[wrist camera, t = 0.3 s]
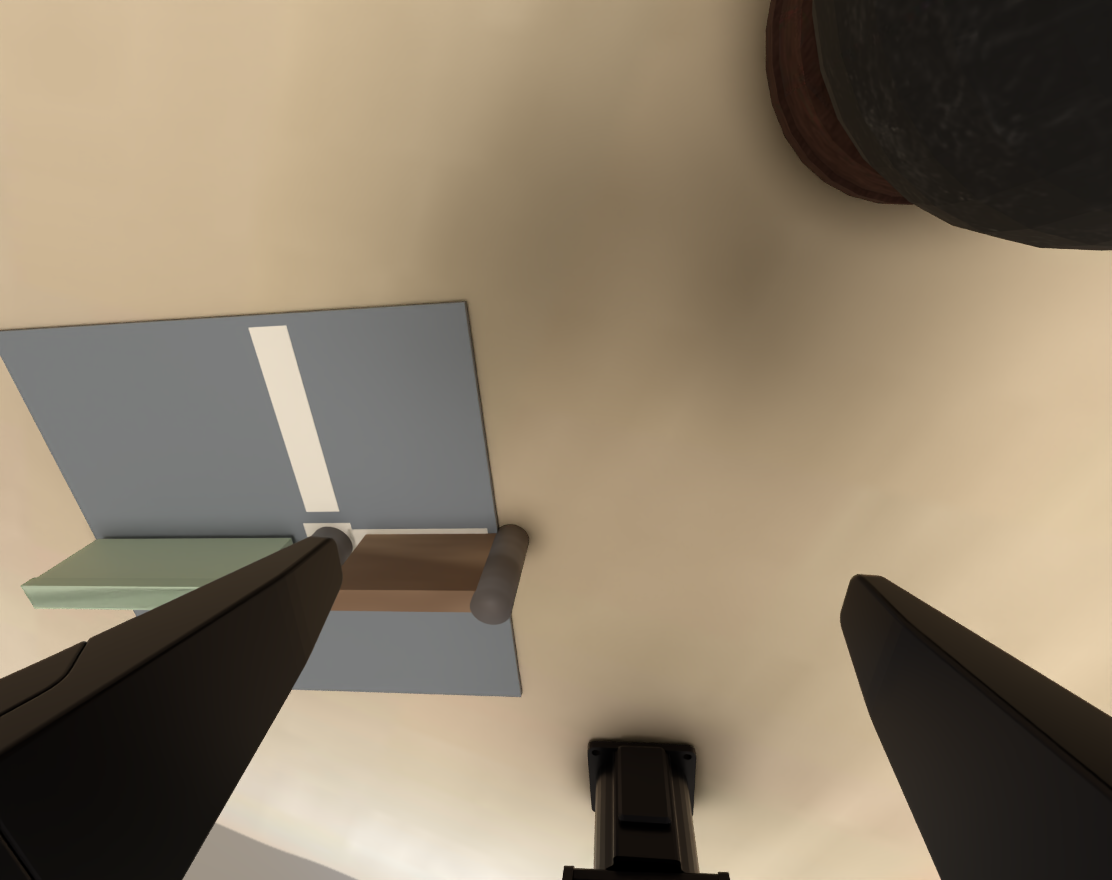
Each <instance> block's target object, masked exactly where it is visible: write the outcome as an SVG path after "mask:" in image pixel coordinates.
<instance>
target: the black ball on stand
mask: <svg viewBox="0 0 1112 880" xmlns="http://www.w3.org/2000/svg"><path fill="white" fill-rule="evenodd" d="M766 73H767V79H768V84H769V90H770V96H771V101H772V106H773V108H774V111H775V113H776V116H777V118H778V121H779V123H780V126H781V129H782V131H783V134H784V136H785V138H786V139H787V140H788V142H789V143H790V145H791V146H792V148H793V149H794V151H795V152H796V154H797V155H798V157H799V158H800V160H801V161H802V162H803V163H804V164H805V165H806V166H807V167H808V168H809V169H810V170H812V171H813V172H814V173H815V174H816V175H817V176H818V177H819V178H820V179H821V180H823V181H824V182H825V183H827V184H829V185H831V186H833V187H835V188H836V189H838V190H840V191H842V192H844V193H846V194H848V195H849V196H853V197H857V198H860V199H864V200H868V201H872V202H875V203H882V204H907V205H916V206H918V207H920V208H921V209H923V210H925V211H927V212H929V213H931V214H932V215H934V216H936V217H938V218H940V219H942V220H943V221H945V222H947V223H949V224H951V225H953V226H956V227H960V228H964V229H968V230H972V231H975V232H979V233H983V234H987V235H990V236H994V237H998V238H1002V239H1006V240H1010V241H1014V242H1018V243H1022V244H1026V245H1030V246H1035V247H1039V248H1057V249H1079V250H1101V251H1102V250H1112V0H771V3H770V9H769V15H768V20H767V26H766Z"/></svg>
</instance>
